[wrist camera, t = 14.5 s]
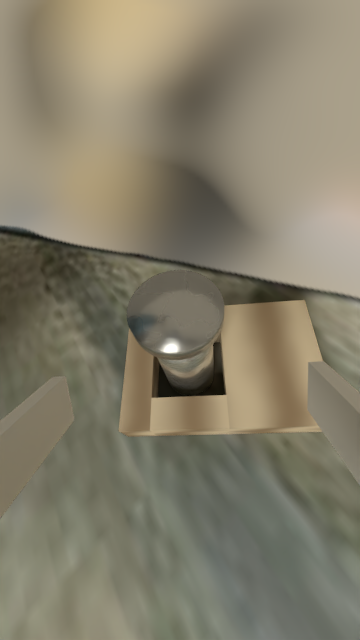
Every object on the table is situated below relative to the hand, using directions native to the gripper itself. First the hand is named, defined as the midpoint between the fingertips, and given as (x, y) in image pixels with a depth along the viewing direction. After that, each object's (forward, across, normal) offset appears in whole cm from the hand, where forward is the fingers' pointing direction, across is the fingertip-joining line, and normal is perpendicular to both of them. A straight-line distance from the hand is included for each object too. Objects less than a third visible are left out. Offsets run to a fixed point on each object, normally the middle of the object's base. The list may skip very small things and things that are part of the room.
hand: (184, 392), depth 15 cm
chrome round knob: (+13, 0, -5) cm, 14 cm away
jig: (+13, +2, -5) cm, 14 cm away
